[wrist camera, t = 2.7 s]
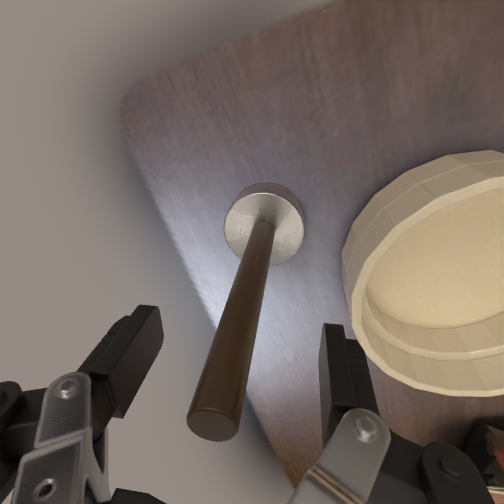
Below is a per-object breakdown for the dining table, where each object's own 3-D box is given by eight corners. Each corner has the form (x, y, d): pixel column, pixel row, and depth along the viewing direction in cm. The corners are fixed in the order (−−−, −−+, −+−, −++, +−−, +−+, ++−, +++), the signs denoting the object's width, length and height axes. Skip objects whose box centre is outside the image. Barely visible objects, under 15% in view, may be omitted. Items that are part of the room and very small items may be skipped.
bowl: (300, 246, 24) (299, 290, 19) (504, 92, 18) (588, 95, 13) (411, 360, 28) (436, 424, 23) (612, 267, 22) (712, 326, 16)
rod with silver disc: (215, 216, 24) (88, 409, 10) (268, 166, 22) (201, 324, 7) (265, 264, 25) (217, 494, 11) (320, 222, 23) (348, 446, 9)
